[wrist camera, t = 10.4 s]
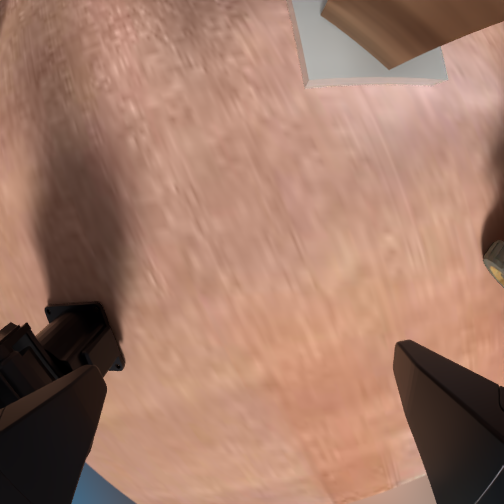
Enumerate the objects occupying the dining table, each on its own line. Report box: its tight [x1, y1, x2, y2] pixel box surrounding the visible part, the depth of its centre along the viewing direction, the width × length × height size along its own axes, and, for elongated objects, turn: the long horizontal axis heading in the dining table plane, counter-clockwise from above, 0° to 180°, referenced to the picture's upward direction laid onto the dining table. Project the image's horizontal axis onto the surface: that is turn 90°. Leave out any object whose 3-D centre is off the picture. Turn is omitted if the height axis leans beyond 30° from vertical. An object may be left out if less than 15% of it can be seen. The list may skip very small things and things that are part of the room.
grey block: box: [286, 0, 448, 89], centre depth 15 cm, size 9×9×3 cm
